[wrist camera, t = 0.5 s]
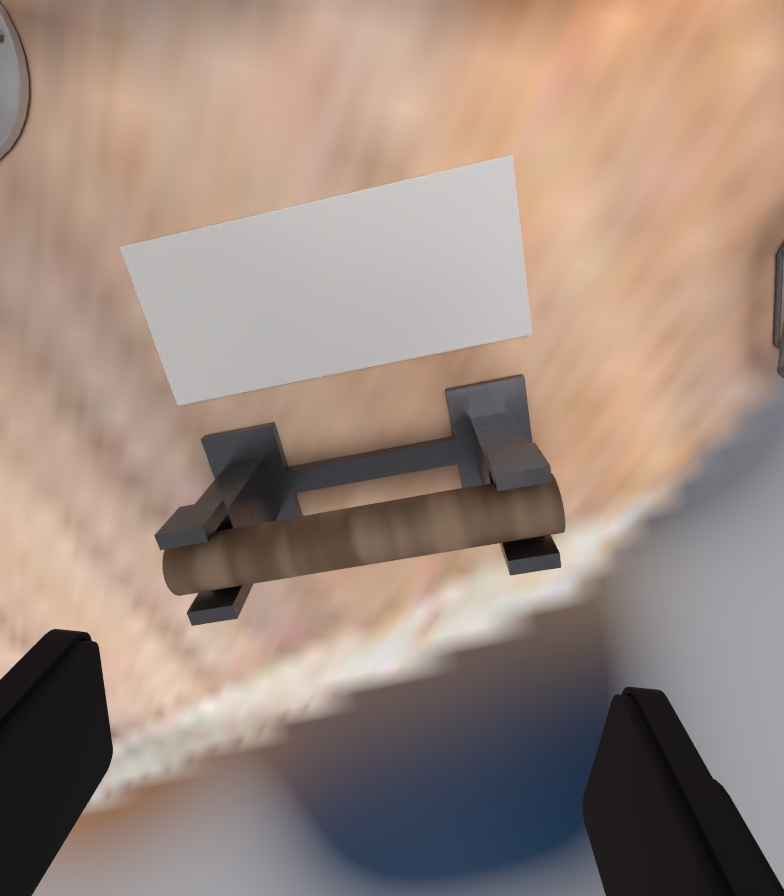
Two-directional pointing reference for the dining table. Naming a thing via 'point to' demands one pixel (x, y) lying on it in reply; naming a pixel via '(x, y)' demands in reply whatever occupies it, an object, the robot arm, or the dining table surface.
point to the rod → (365, 536)
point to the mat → (337, 283)
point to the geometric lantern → (779, 312)
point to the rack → (275, 484)
